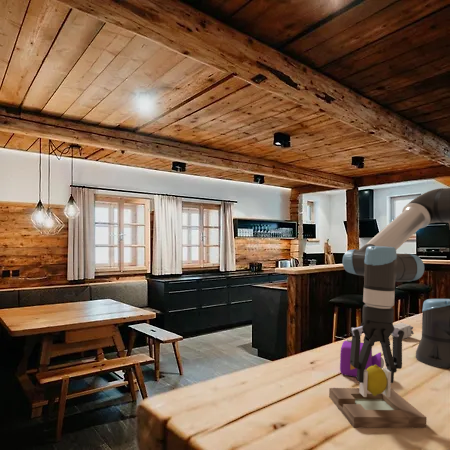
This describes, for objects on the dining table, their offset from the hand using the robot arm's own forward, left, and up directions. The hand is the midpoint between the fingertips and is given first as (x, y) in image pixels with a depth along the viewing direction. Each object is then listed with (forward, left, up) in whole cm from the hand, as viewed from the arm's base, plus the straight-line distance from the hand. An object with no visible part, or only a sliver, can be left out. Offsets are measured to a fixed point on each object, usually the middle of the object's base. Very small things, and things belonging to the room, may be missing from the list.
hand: (374, 394), depth 96 cm
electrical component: (-40, -67, -5) cm, 78 cm away
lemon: (0, 0, -1) cm, 1 cm away
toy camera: (-8, -25, -5) cm, 27 cm away
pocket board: (0, 0, -4) cm, 4 cm away
